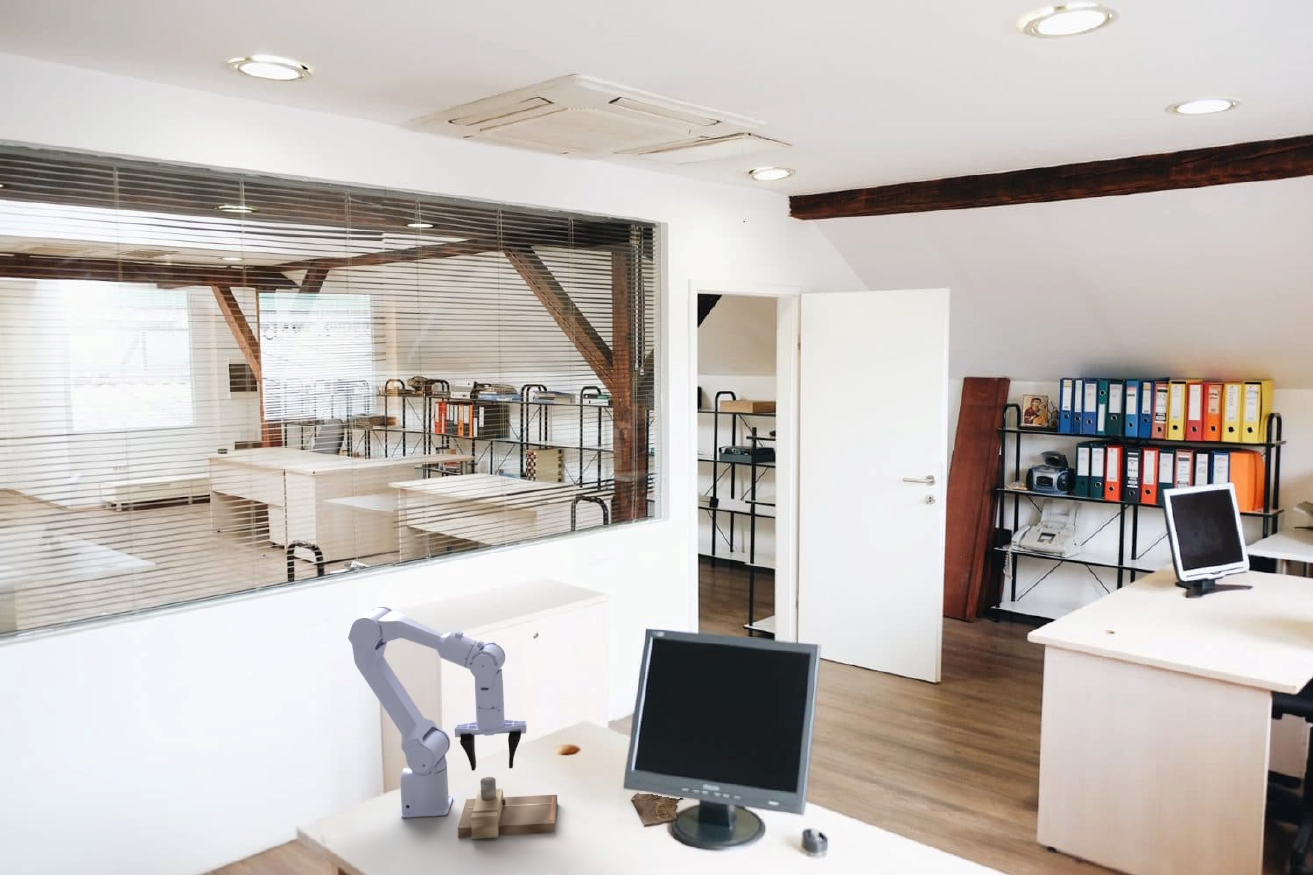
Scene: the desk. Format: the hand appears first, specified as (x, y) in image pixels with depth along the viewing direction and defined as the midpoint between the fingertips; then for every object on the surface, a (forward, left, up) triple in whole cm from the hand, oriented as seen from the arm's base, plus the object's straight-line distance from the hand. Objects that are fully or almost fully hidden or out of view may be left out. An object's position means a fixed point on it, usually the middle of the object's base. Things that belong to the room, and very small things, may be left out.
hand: (492, 767), depth 197 cm
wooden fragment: (+34, +3, -10) cm, 36 cm away
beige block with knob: (0, -7, -9) cm, 11 cm away
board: (+3, -4, -9) cm, 11 cm away
